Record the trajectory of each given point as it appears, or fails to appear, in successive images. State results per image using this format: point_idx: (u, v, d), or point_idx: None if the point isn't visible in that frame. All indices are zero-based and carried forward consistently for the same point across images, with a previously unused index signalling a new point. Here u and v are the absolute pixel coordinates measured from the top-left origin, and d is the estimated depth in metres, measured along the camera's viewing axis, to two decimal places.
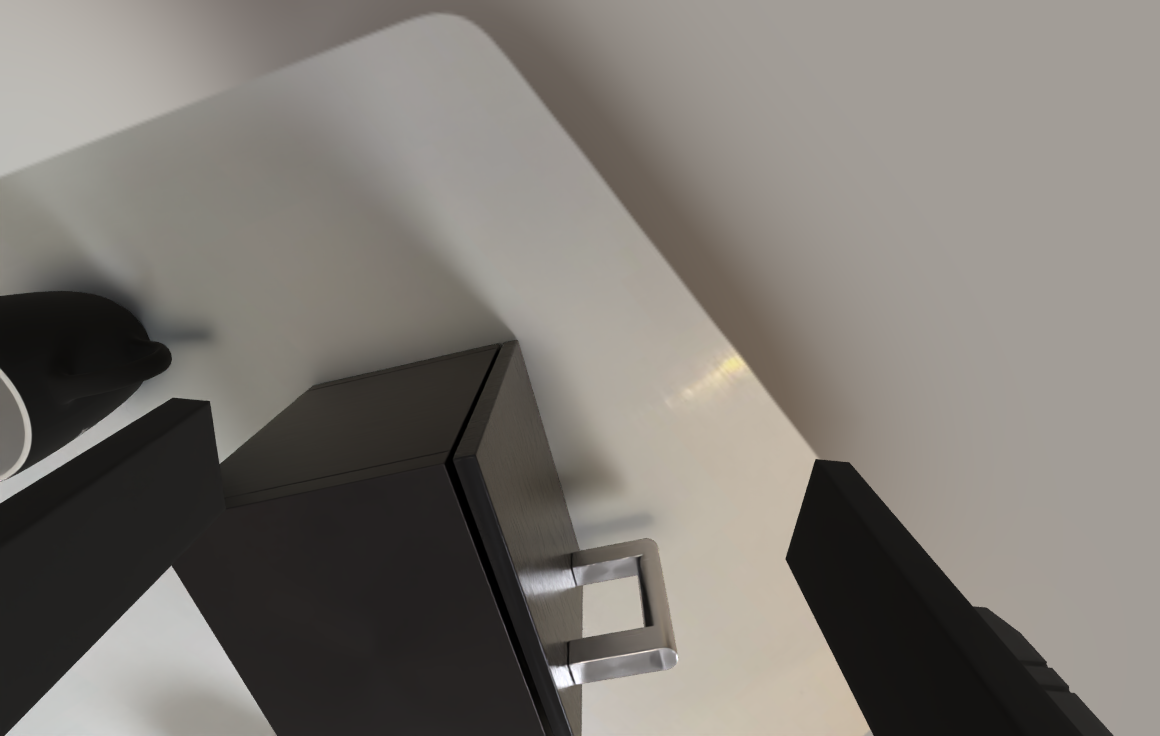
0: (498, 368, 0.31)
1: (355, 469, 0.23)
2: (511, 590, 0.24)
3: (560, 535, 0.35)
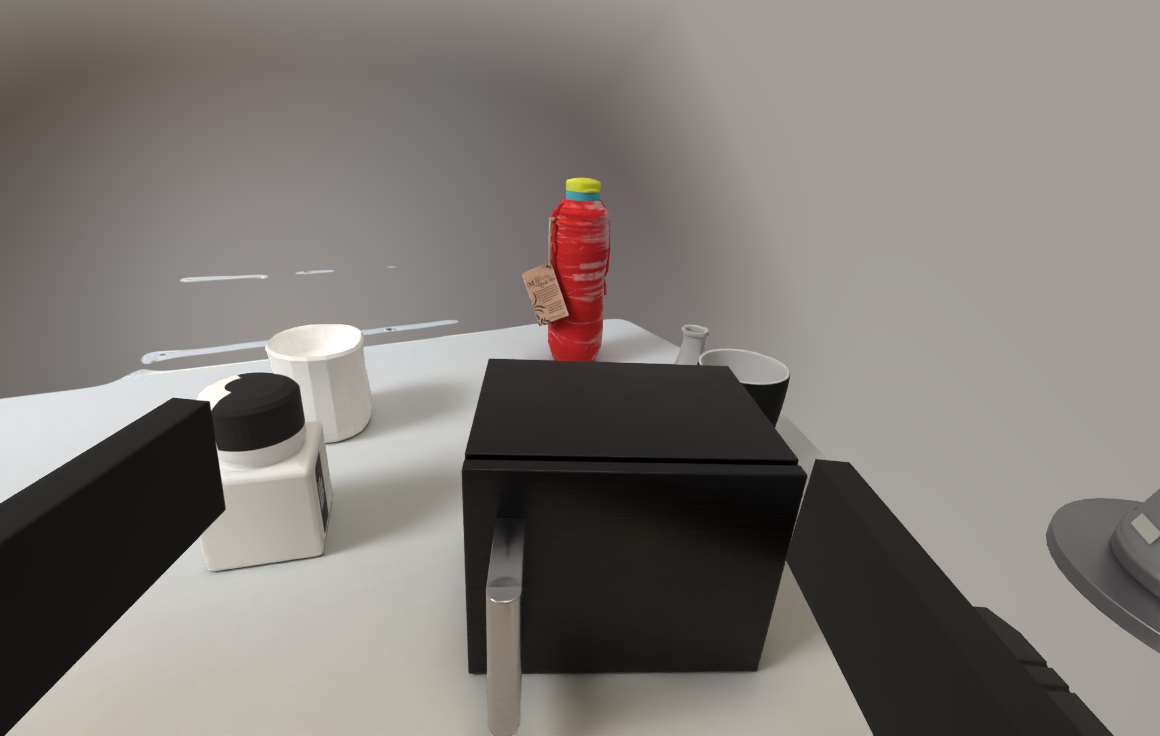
0: None
1: None
2: (678, 468, 0.29)
3: (572, 617, 0.32)
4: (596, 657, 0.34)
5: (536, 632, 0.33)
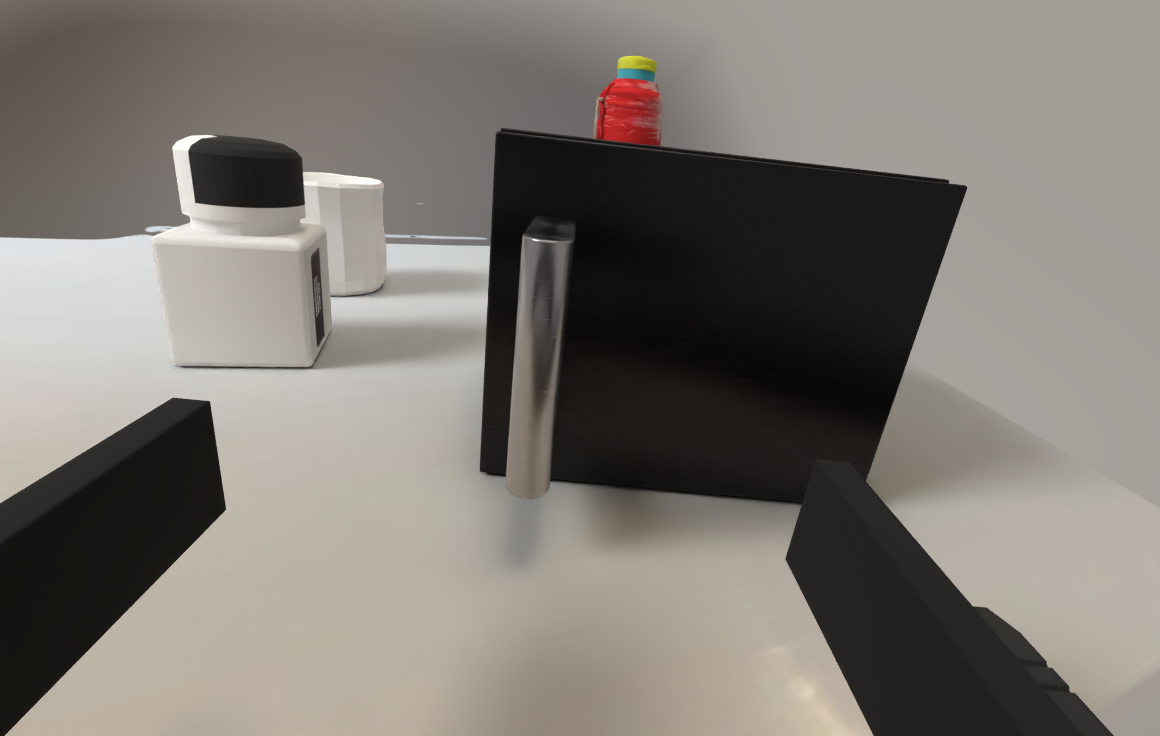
0: None
1: None
2: None
3: (623, 394, 0.24)
4: (648, 462, 0.26)
5: (573, 414, 0.25)
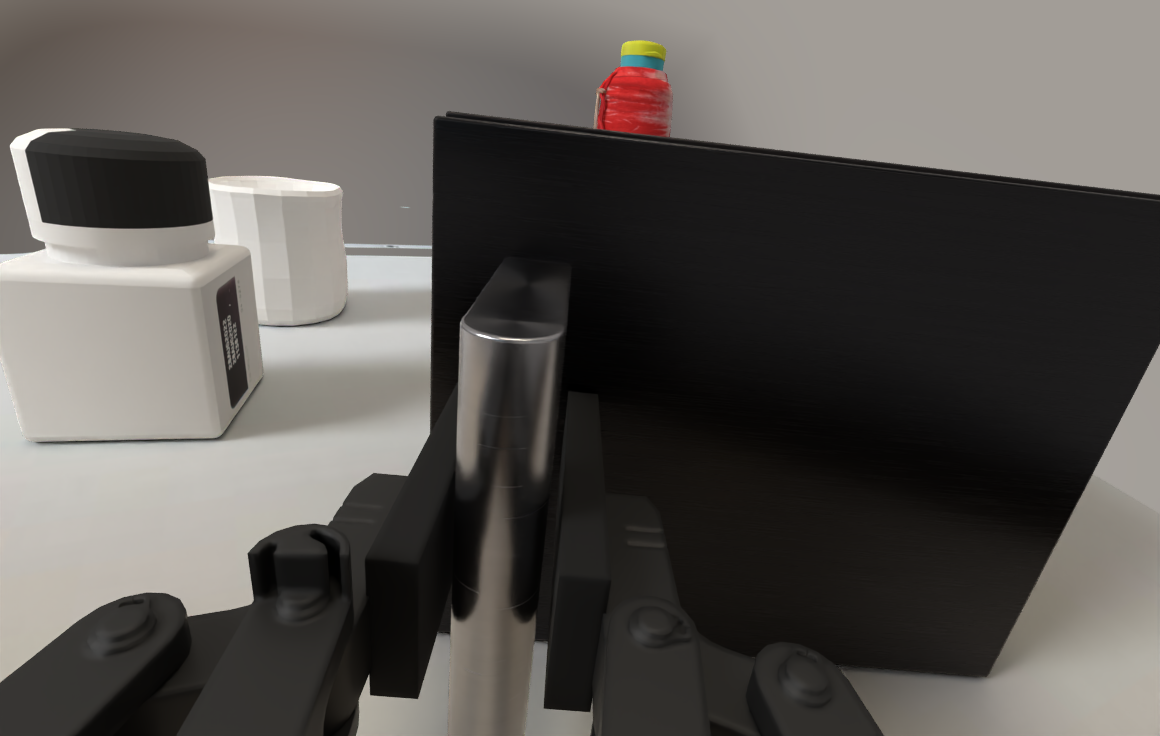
0: None
1: None
2: None
3: None
4: None
5: None
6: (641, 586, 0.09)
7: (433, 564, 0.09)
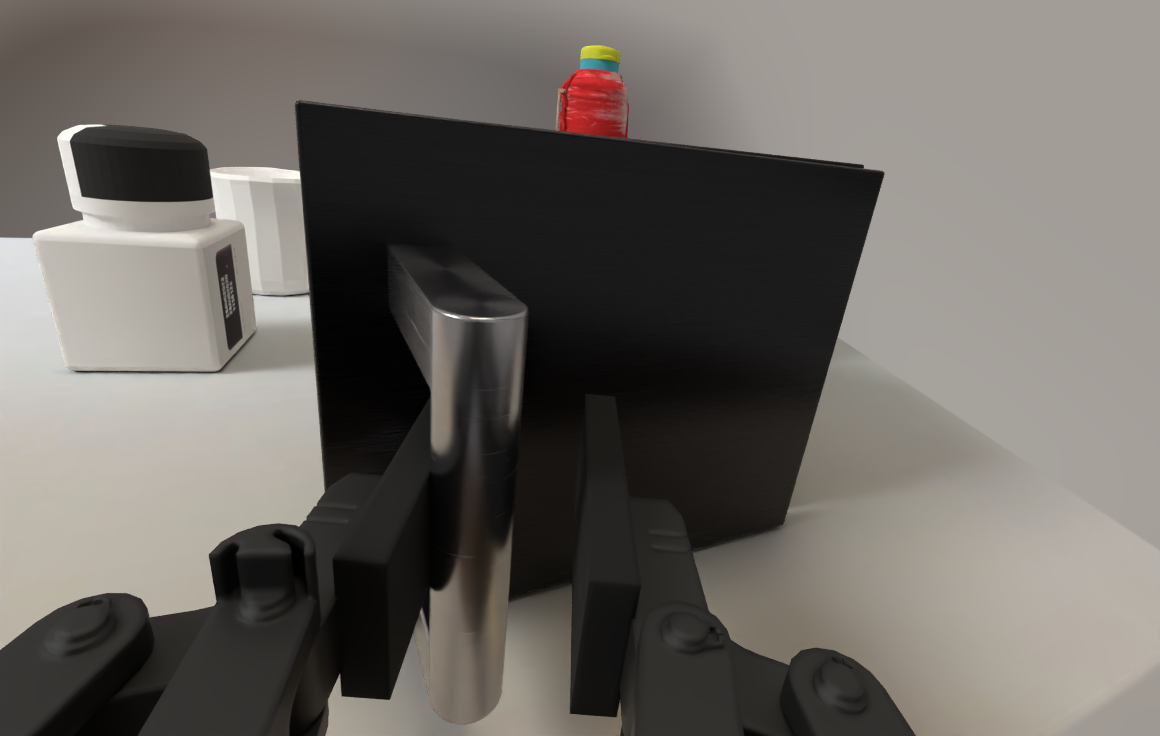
0: None
1: None
2: None
3: (539, 477, 0.18)
4: None
5: None
6: (668, 591, 0.09)
7: (405, 564, 0.09)
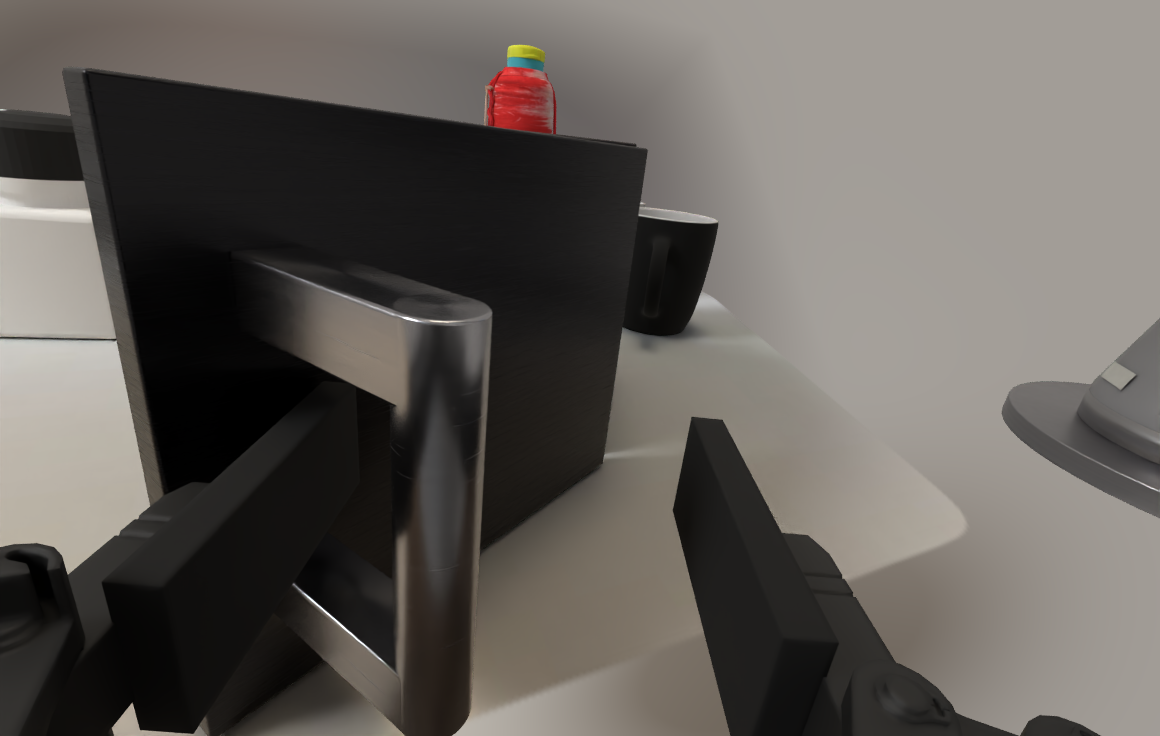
0: None
1: None
2: None
3: None
4: None
5: (353, 545, 0.16)
6: (848, 643, 0.08)
7: (215, 584, 0.08)
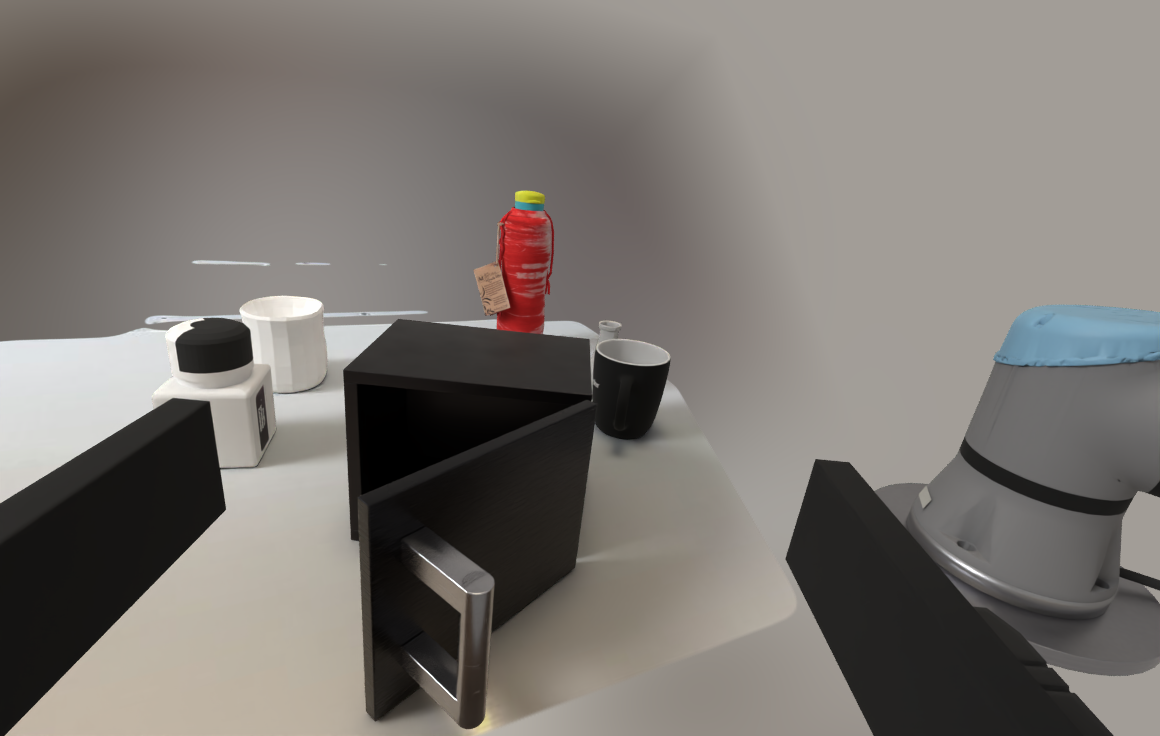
0: None
1: None
2: (526, 430, 0.35)
3: None
4: None
5: (434, 635, 0.33)
6: None
7: None
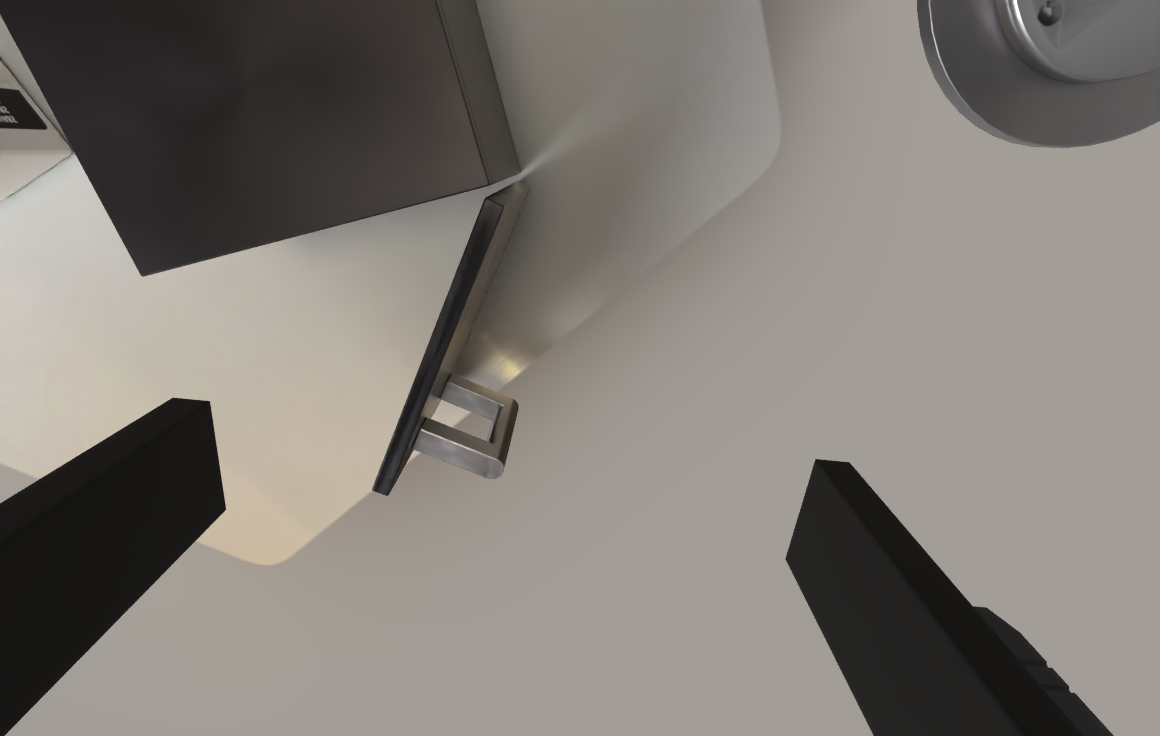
0: (516, 187, 0.35)
1: (466, 90, 0.25)
2: (446, 326, 0.29)
3: (459, 349, 0.40)
4: (475, 316, 0.42)
5: (453, 367, 0.42)
6: None
7: None
